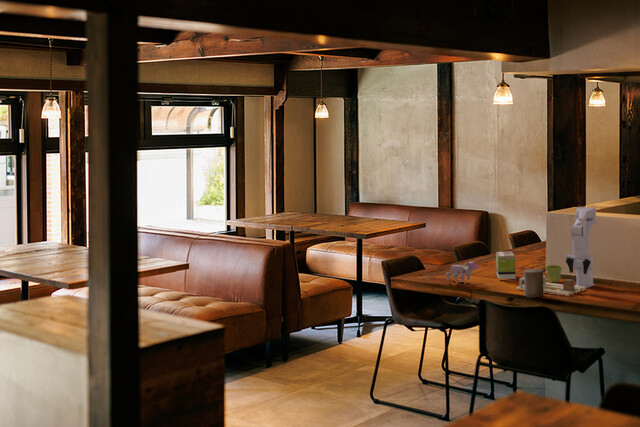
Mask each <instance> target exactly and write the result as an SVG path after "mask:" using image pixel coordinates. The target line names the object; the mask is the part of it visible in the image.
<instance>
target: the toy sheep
mask: <svg viewBox="0 0 640 427" xmlns="http://www.w3.org/2000/svg"><path fill="white" fill-rule="evenodd" d="M479 268H480V267H479V265H477V264H476V262H475V261H469V262H466V263H464V264H463V265H461V264H460V265H459V264H452V265H450V271H446V272H445V277H446V281H447V280H450V281H451V279H450V277H451V276H452V279H453V278H455V281H457V282H458V277H459V279H462V282H464V283H465V278H466V277H467V279H466V281H467V280H471V275H472V274H473V271H474V270H476V269H479ZM465 276H466V277H465Z"/></svg>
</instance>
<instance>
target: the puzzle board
mask: <svg viewBox="0 0 640 427" xmlns="http://www.w3.org/2000/svg"><path fill="white" fill-rule="evenodd" d="M574 288H575V289H578V290H575V291H573V292H570V291H561V290H560V289H563V283H556V282H554V283H552V282H546V284H543V292H545V293H550V294H549V295H551V294H557V295H556V296H559V295H565V296H564V297H567V296H568V297H570V296H569V295H571V294H573V295H575V294H574V293H576V294H577V292H579V293H581V292H583V291H586V288H585V287H581V286H574ZM516 289H522V290H525V289H524V284H523V287H519V286H517V287H516ZM551 289H556V290H551ZM580 291H581V292H580ZM571 296H572V295H571Z"/></svg>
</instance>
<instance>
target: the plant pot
mask: <svg viewBox="0 0 640 427" xmlns="http://www.w3.org/2000/svg"><path fill="white" fill-rule="evenodd" d="M544 268H545V270H546V274H547V279H548V283H552V282H554V283H560V281H561V276H562V275H561V274H562V270H563V266H562V265H558V264H557V265H555V264H551V265H546V266H545V267H544Z"/></svg>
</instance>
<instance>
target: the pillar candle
mask: <svg viewBox="0 0 640 427" xmlns="http://www.w3.org/2000/svg"><path fill="white" fill-rule="evenodd" d="M543 276H544V270H543V269H539V268H530V269H529V268H528V269H524V272H523V277H524V280H523V282H524V284H523V285H524V289H525V291H524V297H525V296H526V297H525V298H529V299H530V298H531V299H534V298H535V299H537V298H536V297H540V296H543V297H544V294H543ZM540 298H541V297H540Z"/></svg>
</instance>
